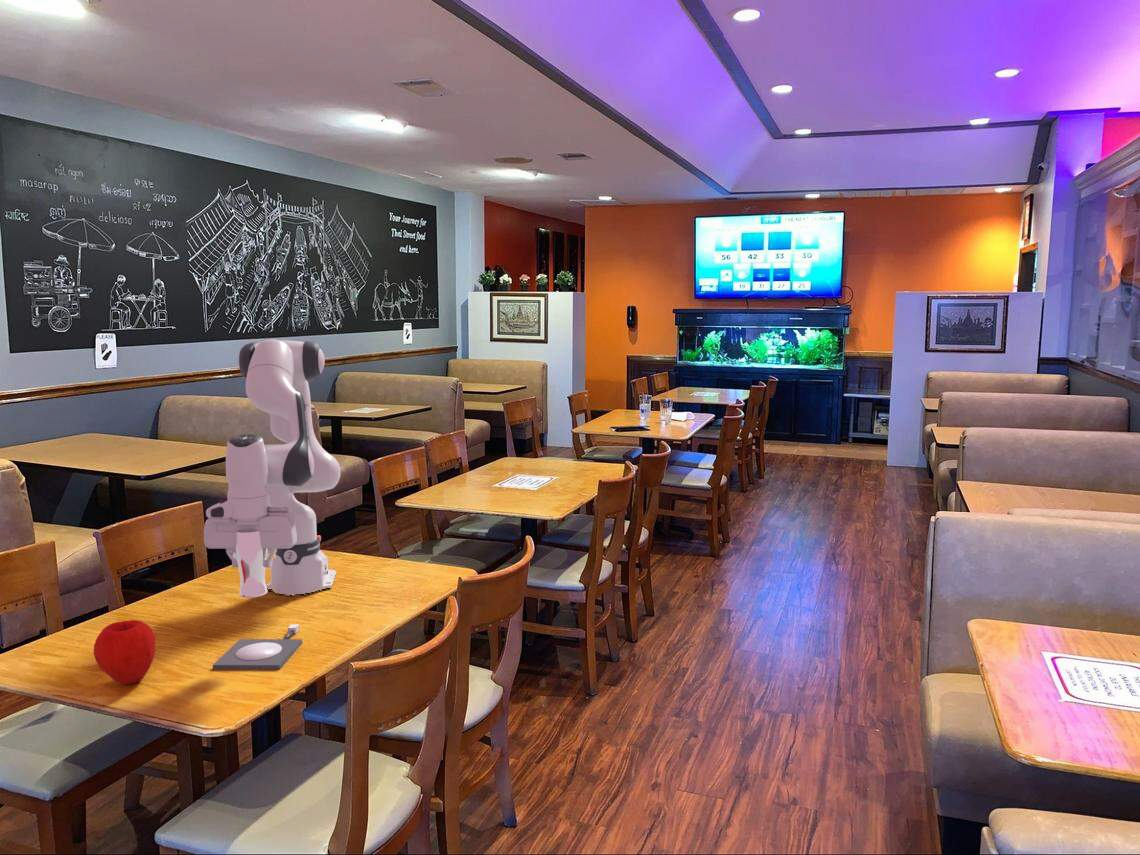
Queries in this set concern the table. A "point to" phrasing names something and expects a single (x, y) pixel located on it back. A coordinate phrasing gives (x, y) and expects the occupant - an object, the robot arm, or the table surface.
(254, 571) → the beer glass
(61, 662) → the table surface
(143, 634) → the apple
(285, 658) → the charging dock
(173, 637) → the table surface
